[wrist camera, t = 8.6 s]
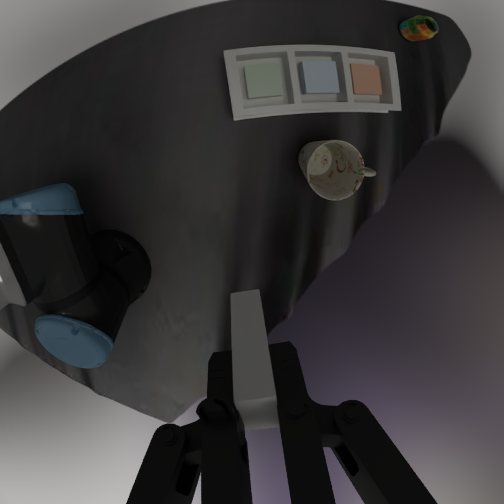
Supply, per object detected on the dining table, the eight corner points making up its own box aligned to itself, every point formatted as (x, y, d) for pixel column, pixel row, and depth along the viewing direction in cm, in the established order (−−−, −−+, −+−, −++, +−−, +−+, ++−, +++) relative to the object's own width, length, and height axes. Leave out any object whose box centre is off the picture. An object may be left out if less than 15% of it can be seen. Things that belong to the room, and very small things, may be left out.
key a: (247, 99, 36) (248, 98, 34) (243, 69, 34) (244, 66, 31) (281, 96, 36) (284, 94, 34) (276, 66, 34) (279, 63, 31)
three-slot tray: (233, 120, 39) (234, 120, 34) (224, 56, 34) (223, 47, 29) (383, 112, 39) (401, 113, 34) (376, 54, 34) (393, 49, 29)
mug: (292, 132, 40) (309, 137, 32) (362, 140, 41) (393, 148, 33) (289, 181, 44) (304, 199, 35) (357, 185, 45) (384, 203, 36)
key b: (302, 94, 35) (306, 93, 33) (298, 63, 33) (302, 60, 30) (333, 93, 35) (339, 92, 33) (329, 63, 33) (335, 61, 30)
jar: (418, 43, 32) (444, 38, 25) (400, 41, 32) (426, 35, 25) (411, 22, 30) (436, 15, 23) (393, 20, 30) (417, 11, 23)
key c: (348, 94, 36) (354, 93, 34) (344, 65, 34) (350, 63, 31) (375, 95, 36) (382, 94, 34) (371, 67, 34) (378, 66, 31)
